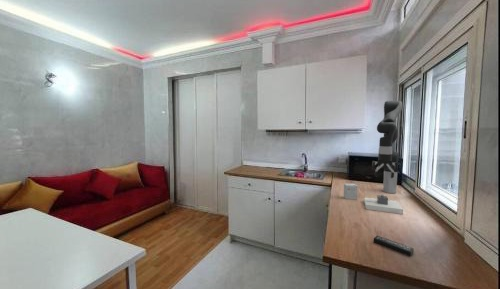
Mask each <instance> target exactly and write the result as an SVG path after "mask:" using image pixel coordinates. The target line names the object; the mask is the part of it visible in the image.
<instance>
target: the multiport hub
mask: <svg viewBox="0 0 500 289" xmlns="http://www.w3.org/2000/svg"><path fill="white" fill-rule="evenodd" d="M373 244H377V245H379V246H382V247H384V248H387V249H390V250H392V251H395V252H398V253H401V254H403V255H404V256H408V257H412V256H413V255H414V252H415V251H414V250H415V249H414V248H413V247H410V246H408V245H405V244H402V243H399V242H397V241H394V240H391V239H388V238H385V237H383V236H380V235H376V236H375V237H373Z"/></svg>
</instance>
